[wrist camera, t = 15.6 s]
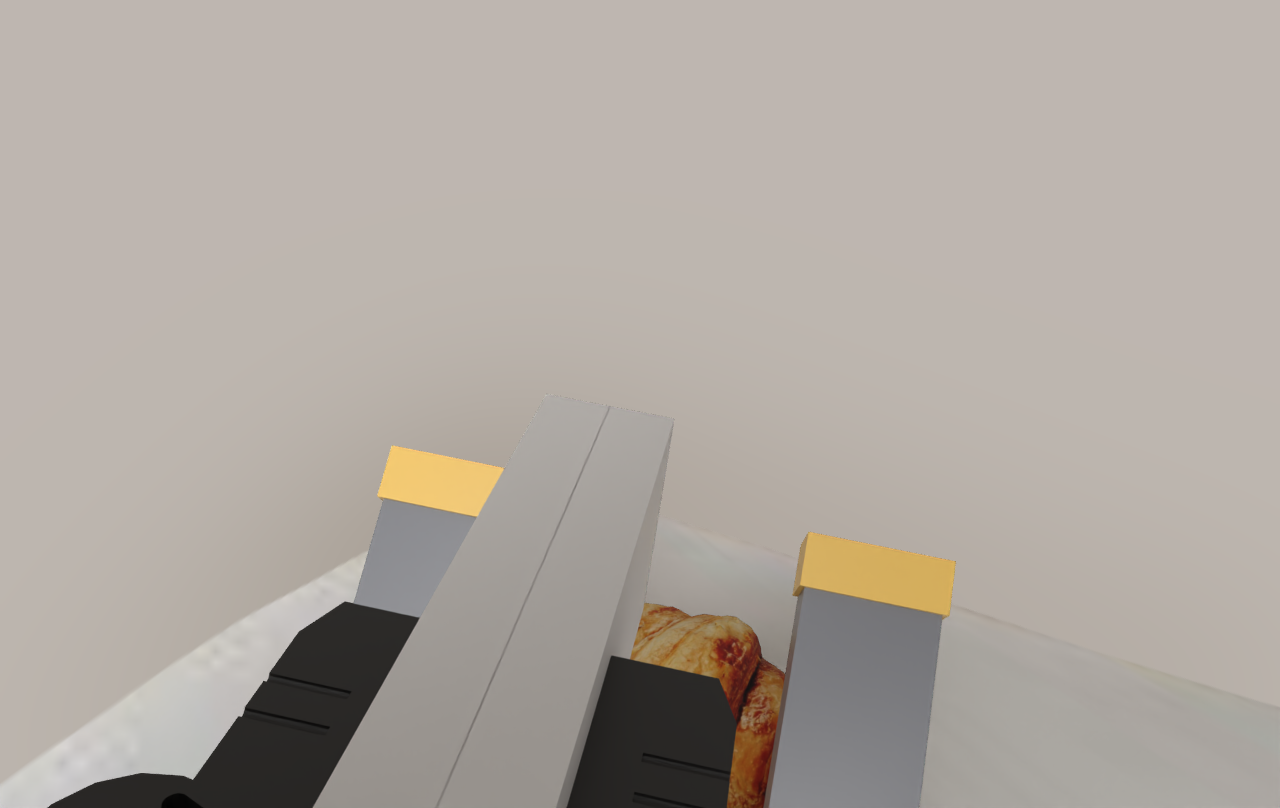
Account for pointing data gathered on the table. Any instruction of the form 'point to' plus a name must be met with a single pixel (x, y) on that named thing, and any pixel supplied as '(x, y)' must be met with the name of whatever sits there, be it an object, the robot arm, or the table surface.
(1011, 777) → the table surface
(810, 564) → the lever
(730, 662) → the croissant
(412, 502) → the lever
